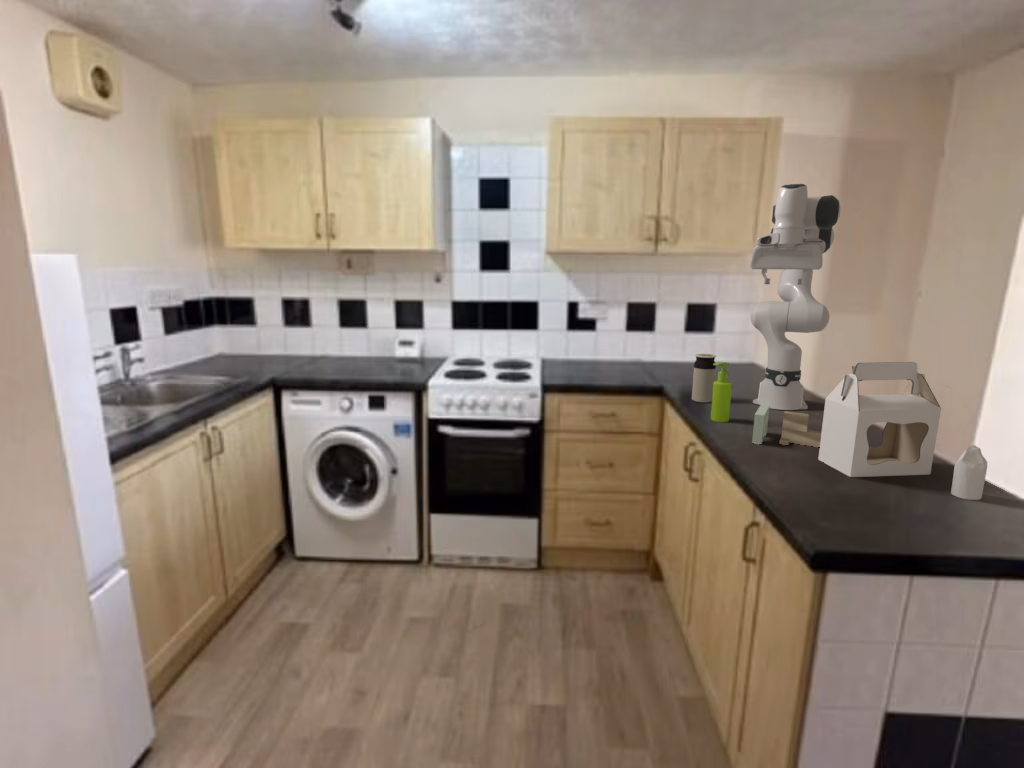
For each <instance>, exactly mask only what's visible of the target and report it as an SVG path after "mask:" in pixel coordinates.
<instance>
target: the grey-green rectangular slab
mask: <svg viewBox="0 0 1024 768" xmlns="http://www.w3.org/2000/svg"><path fill="white" fill-rule="evenodd" d="M770 409H771V408H770V405H762V404H761V405H759V407H758V408H757V409H756V412H755V414H754V418H753V427H752V428H753V429H752V439H751V440H752V441H751V444H752V443H754V445H759V444H761V445H762V444H763V442H764V436H765V437H767V434H768V427H769V416H770Z"/></svg>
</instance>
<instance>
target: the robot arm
mask: <svg viewBox="0 0 1024 768" xmlns="http://www.w3.org/2000/svg"><path fill="white" fill-rule="evenodd" d="M771 215H772V217H771V222H772V224H773V225H774V226H772V228H771V230H770V232H769V234H766V235H763V236H760V237H757V239H756V242H755V243H756V246H754V248H753V250H752V251H751V252H752V253H751V256H750V257H751V258H750V264H749V267H750V269H752V270H761V275H762V277H763V279H764V283H763V284H764V285H770V284H771V278H768V276H767V275H766V274H767V273H768V270H781V271H780V275H779V280H778V285H777V288H776V289H777V294H778V296H779V298H780V299H781V301H779V300H778V301H777V300H770V301H768V300H767V301H762V302H758V303H756V304H755V305H754V306H753V308H752V309H751V311H750V312H751V313H750V321H751V322H750V323H751V324H752V326H753V327H754V328H755V329H756V330H758V332H759V333H760V334H762V336H763V338H764V340H765V341H766V344H767V366H766V368H765V371H764V377H765V378H764V379H763V380H761V382H760V383H759V388H758V394H757V395H758V397H757V398H755V399H752V403H753V404H755V405H759V406H760V405H761V404H762V405H770V408H769V409H772V410H781V411H798V410H808V408H809V407H808V405H807V403H806V402H805V400H804V398H805V395H804V389H805V388H804V386H803V384H802V383H801V381H800V380H801V376H802V370H801V365H802V364H801V363H802V355H803V352H802V348H801V347H800V346H799V345H798V344H797V343H795V342H793V341H791V340H789V339H788V338H787V337H786V333H801V334H802V333H803V334H805V333H807V334H810V333H818V332H821V331H823V330H824V329H825V328H826V327H827V326H828V324H829V322H830V321H829V320H830V312H829V309H828V308H827V306H826V305H825V304H823V303H822V302H819V301H818V300H817V299H816V298H815V297H814V296H813V293H812V282H813V281H812V280H813V274H814V270H820V269H822V268H823V254H824V253H826V252H827V251H829V249H830V248H831V247H832V245H833V243H834V241H835V231H834V228H833V227H834V226H835V225H837V223H838V221H839V219H840V215H841V203H840V200H839V199H838V198H837V197H836V196H834V195H833V194H832V195H831V194H830V195H823V196H810V197H809V195H808V186H807V185H806V184H804V183H791V184H784V185H782V186H780V187H779V190H778V192H777V197H776V200H775V204H774V205H772V214H771Z"/></svg>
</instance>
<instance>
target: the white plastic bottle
mask: <svg viewBox="0 0 1024 768" xmlns="http://www.w3.org/2000/svg"><path fill="white" fill-rule="evenodd" d="M987 469H988V461H987V459H986V458H985V456H984V455H983V454H982V449H981V448H980V447H979V446H977V445H975V444H972V445H969V446H967V448H966V449H965V450H964V451H963V452H962V454H961V455H960V456H959V457H958V460H957V461H956V462H955V464H954V469H953V474H952V475H953V477H952V484H951V488H950V489H951V490H950V494H951V495H952V496H954V497H957V498H960V499H962V500H967V501H968V500H970V501H980V500H981V499H982V498H983V493H984V492H983V491H984V487H985V480H986V477H987V476H986V475H987V472H988V471H987Z"/></svg>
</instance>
